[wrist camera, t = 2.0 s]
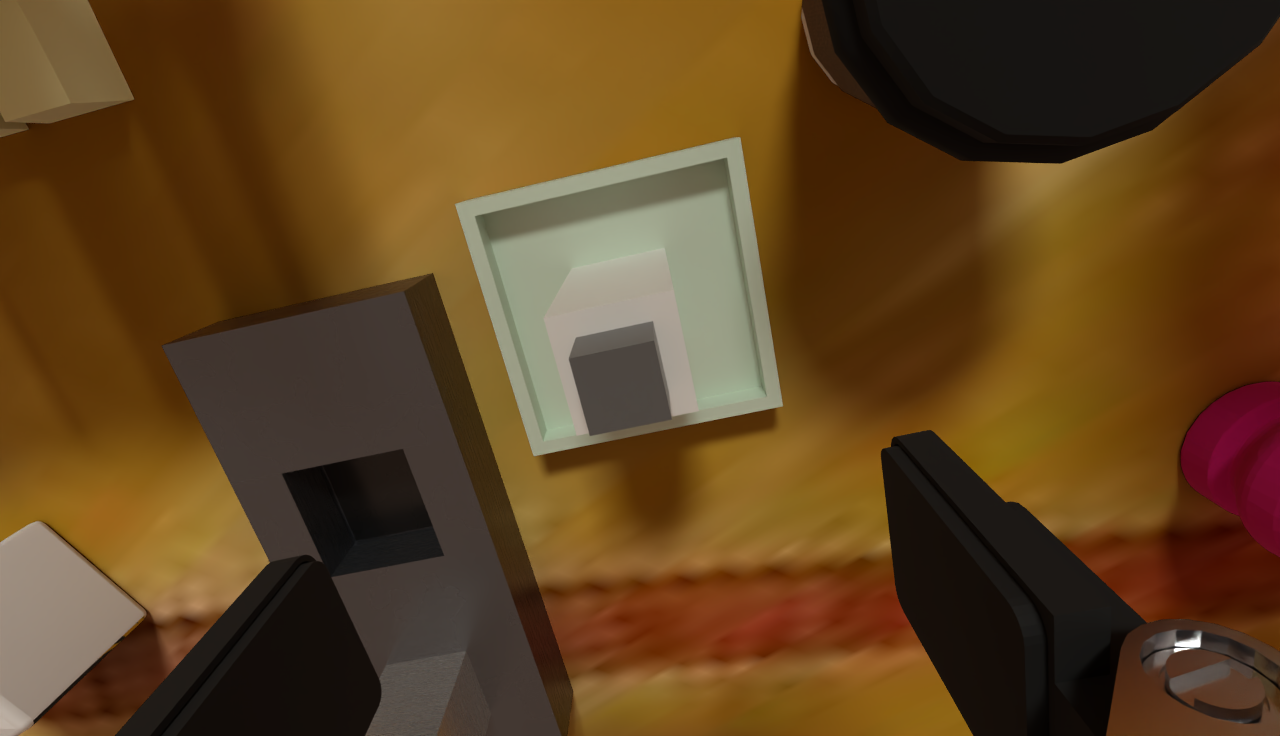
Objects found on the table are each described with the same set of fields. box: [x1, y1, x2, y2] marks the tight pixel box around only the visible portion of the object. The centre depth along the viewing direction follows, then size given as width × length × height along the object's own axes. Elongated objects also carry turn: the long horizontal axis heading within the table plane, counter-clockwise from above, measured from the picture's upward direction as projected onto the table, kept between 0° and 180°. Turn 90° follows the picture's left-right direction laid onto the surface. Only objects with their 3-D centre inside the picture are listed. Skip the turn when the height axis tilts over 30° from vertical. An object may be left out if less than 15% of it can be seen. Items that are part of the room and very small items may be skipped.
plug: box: [543, 248, 699, 436], centre depth 22 cm, size 4×4×10 cm
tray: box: [455, 137, 783, 456], centre depth 27 cm, size 11×11×2 cm
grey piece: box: [162, 273, 573, 736], centre depth 26 cm, size 24×10×12 cm, turn 13°
